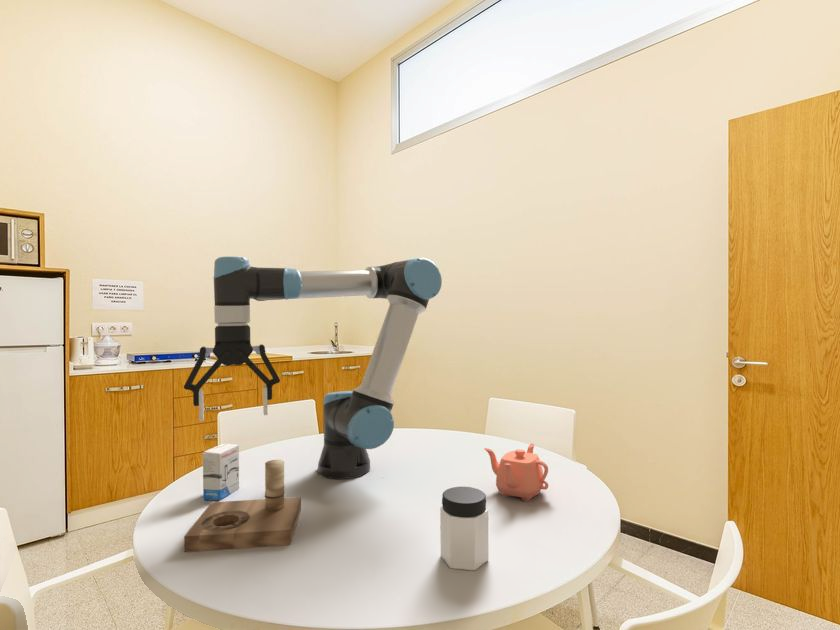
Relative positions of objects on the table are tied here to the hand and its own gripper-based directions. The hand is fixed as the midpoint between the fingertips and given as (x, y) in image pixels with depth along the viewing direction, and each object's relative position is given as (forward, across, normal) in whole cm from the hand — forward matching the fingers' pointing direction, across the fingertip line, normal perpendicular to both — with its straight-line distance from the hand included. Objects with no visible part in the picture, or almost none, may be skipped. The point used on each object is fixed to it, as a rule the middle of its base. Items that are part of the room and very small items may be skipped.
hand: (234, 417), depth 104 cm
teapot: (+23, -66, +15) cm, 72 cm away
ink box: (+22, +3, -14) cm, 27 cm away
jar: (+23, -40, +38) cm, 59 cm away
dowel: (+19, -8, +8) cm, 22 cm away
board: (+22, -2, +9) cm, 24 cm away
